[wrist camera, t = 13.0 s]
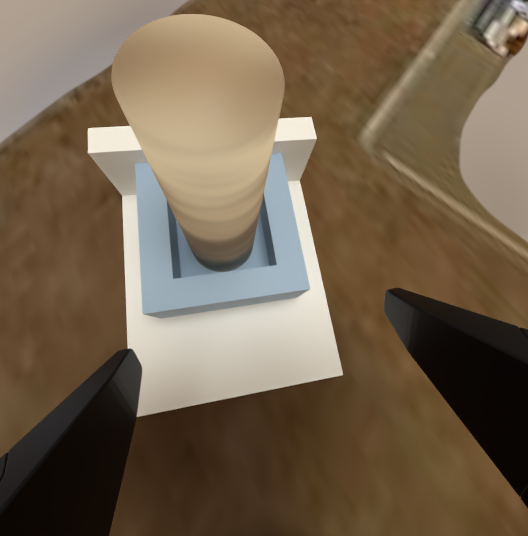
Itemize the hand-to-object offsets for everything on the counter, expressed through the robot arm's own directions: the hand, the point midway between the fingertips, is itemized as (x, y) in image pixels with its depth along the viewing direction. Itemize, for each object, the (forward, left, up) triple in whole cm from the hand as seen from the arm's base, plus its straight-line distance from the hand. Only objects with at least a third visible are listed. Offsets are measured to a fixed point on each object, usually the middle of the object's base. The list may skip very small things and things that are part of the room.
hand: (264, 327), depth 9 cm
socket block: (+5, +6, -12) cm, 14 cm away
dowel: (+5, +6, -11) cm, 13 cm away
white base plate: (+3, +4, -13) cm, 14 cm away
